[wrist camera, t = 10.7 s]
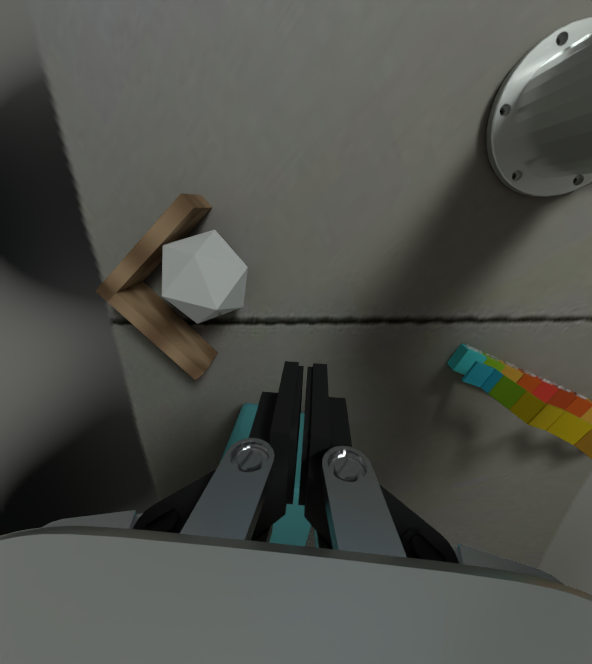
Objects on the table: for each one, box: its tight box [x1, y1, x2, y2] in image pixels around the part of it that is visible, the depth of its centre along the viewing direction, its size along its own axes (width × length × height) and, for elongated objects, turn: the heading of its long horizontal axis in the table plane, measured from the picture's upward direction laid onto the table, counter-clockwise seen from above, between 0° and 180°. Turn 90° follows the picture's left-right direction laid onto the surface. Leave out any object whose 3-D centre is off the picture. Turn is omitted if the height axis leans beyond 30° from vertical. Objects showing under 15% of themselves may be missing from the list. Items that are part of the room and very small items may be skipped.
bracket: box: [96, 194, 218, 380], centre depth 31 cm, size 11×19×5 cm, turn 176°
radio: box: [220, 403, 311, 546], centre depth 39 cm, size 34×10×15 cm, turn 170°
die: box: [162, 230, 248, 324], centre depth 29 cm, size 8×9×10 cm
